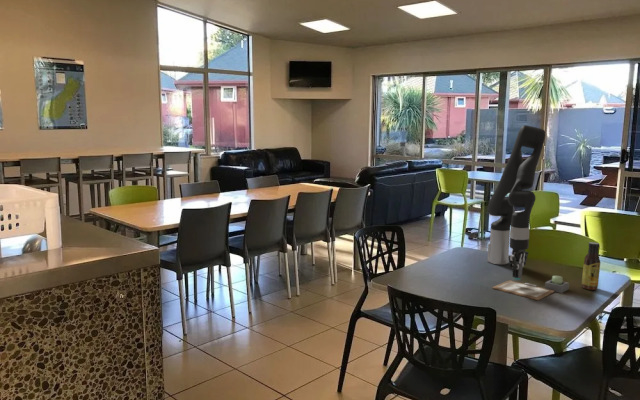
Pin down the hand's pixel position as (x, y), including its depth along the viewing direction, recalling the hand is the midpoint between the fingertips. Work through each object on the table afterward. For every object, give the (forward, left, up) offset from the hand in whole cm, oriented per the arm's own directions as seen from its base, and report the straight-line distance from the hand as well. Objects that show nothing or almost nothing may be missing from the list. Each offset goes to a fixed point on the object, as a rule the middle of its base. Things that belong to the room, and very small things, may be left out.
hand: (517, 276), depth 221 cm
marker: (0, 0, -1) cm, 1 cm away
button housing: (+13, +10, -5) cm, 17 cm away
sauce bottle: (+22, +22, -5) cm, 32 cm away
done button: (+13, +10, -3) cm, 17 cm away
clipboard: (+4, -2, -5) cm, 6 cm away
